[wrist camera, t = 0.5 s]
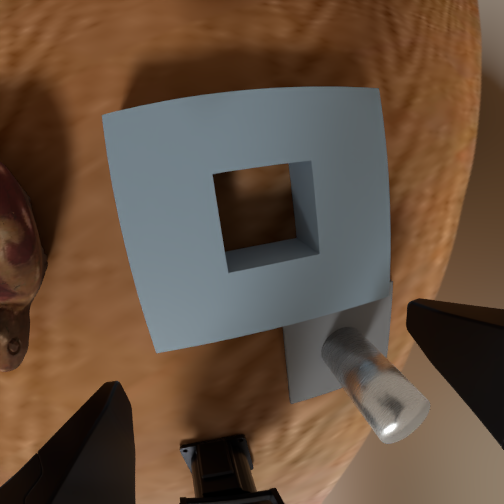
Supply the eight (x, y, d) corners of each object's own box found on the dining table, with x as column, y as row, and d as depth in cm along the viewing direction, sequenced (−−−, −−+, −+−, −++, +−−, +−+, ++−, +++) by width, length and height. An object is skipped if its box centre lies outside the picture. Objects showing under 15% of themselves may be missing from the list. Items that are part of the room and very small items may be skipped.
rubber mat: (382, 369, 29) (384, 371, 28) (289, 401, 27) (291, 404, 26) (390, 279, 25) (392, 281, 25) (280, 309, 24) (282, 311, 23)
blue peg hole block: (361, 277, 25) (388, 296, 21) (158, 322, 22) (156, 353, 18) (348, 97, 20) (378, 88, 17) (116, 123, 18) (101, 114, 14)
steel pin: (361, 358, 27) (423, 428, 17) (321, 371, 26) (376, 451, 17) (362, 321, 25) (435, 389, 16) (320, 334, 25) (384, 415, 15)
